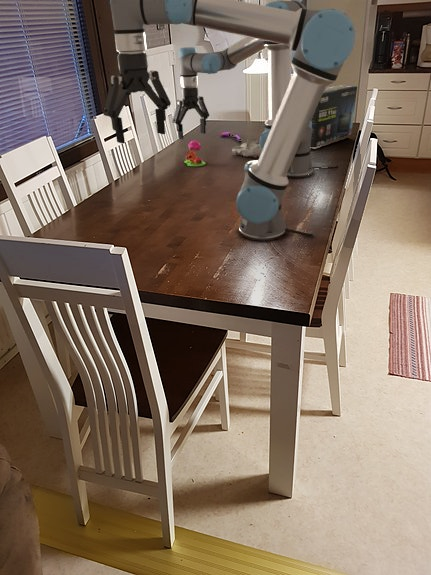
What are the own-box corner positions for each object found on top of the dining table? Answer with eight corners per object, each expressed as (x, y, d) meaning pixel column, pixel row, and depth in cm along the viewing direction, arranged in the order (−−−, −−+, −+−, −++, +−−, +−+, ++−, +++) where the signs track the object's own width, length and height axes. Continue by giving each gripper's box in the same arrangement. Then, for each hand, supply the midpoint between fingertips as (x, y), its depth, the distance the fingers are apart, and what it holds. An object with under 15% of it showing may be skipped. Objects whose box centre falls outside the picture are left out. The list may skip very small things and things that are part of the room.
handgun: (221, 135, 268) (221, 132, 267) (234, 134, 269) (234, 130, 268) (228, 143, 251) (228, 140, 250) (242, 142, 252) (242, 138, 251)
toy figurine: (179, 163, 222) (177, 140, 216) (193, 159, 227) (191, 136, 221) (195, 168, 214) (193, 144, 208) (209, 163, 219) (208, 140, 214)
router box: (314, 151, 231) (318, 94, 217) (296, 148, 237) (299, 92, 224) (352, 138, 251) (358, 85, 238) (335, 135, 258) (340, 83, 245)
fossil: (259, 152, 219) (238, 132, 222) (247, 170, 225) (226, 150, 228) (276, 150, 232) (255, 131, 235) (264, 167, 239) (244, 148, 242)
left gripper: (96, 57, 107) (110, 149, 118) (179, 49, 121) (185, 131, 132) (80, 56, 112) (95, 144, 123) (162, 48, 126) (169, 128, 137)
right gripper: (172, 91, 193) (176, 142, 204) (216, 84, 207) (217, 132, 218) (161, 89, 198) (166, 139, 209) (205, 82, 212) (206, 129, 223)
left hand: (141, 138), depth 127 cm, fingers open, 13 cm apart
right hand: (192, 135), depth 214 cm, fingers open, 13 cm apart
